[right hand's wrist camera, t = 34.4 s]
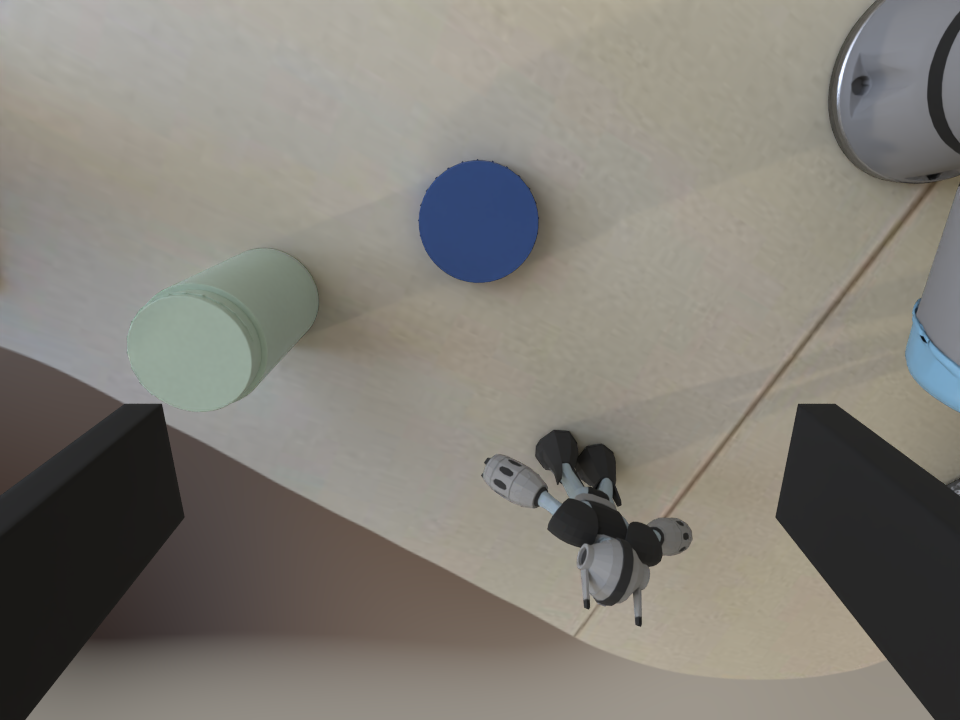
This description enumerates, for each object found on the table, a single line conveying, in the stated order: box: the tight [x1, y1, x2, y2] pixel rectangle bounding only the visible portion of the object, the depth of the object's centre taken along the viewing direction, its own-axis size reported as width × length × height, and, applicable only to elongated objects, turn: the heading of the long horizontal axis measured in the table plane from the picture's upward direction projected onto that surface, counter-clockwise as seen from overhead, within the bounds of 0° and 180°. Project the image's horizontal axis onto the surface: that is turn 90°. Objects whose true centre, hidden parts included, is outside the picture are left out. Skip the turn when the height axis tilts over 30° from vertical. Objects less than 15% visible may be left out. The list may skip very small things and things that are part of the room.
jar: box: [127, 248, 319, 412], centre depth 46 cm, size 9×9×16 cm
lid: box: [418, 159, 539, 283], centre depth 50 cm, size 10×10×2 cm
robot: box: [481, 430, 692, 627], centre depth 49 cm, size 20×5×20 cm, turn 68°
